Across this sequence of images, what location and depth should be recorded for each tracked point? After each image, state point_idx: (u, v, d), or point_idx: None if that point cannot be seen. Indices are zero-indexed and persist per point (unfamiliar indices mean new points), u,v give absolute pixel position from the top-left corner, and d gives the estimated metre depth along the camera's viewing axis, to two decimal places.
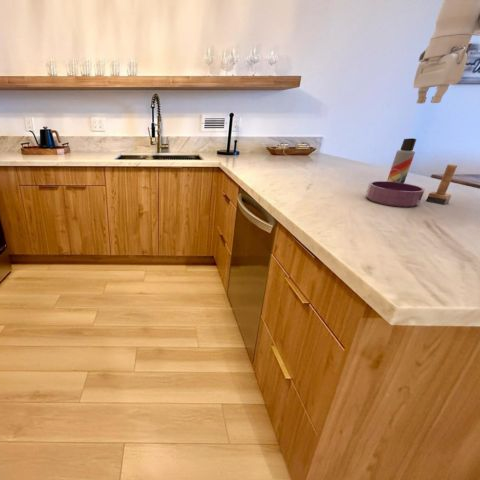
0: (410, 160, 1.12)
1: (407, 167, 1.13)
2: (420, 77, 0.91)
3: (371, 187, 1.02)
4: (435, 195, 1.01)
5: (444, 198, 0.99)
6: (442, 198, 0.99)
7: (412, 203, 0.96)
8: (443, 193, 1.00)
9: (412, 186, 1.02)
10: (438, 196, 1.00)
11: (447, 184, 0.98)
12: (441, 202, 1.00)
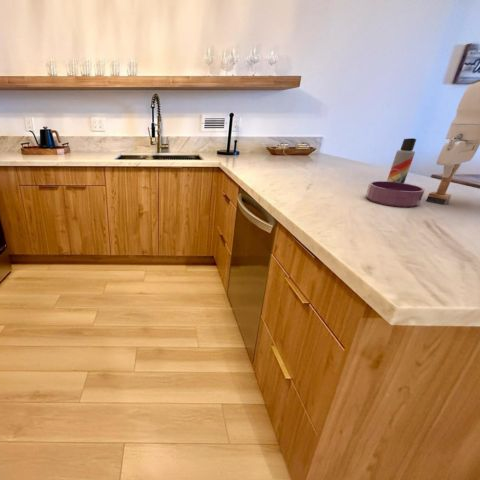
0: (410, 160, 1.12)
1: (407, 167, 1.13)
2: None
3: (371, 187, 1.02)
4: (435, 195, 1.01)
5: (444, 198, 0.99)
6: (442, 198, 0.99)
7: (412, 203, 0.96)
8: (443, 193, 1.00)
9: (412, 186, 1.02)
10: (438, 196, 1.00)
11: (447, 184, 0.98)
12: (441, 202, 1.00)
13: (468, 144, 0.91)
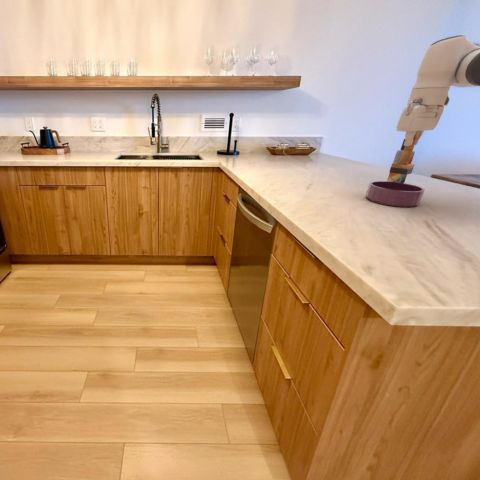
0: (410, 160, 1.12)
1: None
2: None
3: (371, 187, 1.02)
4: (398, 165, 0.98)
5: (406, 168, 0.96)
6: (404, 168, 0.96)
7: (412, 203, 0.96)
8: (405, 163, 0.97)
9: (412, 186, 1.02)
10: (400, 166, 0.97)
11: (409, 153, 0.95)
12: (403, 172, 0.97)
13: (428, 109, 0.88)
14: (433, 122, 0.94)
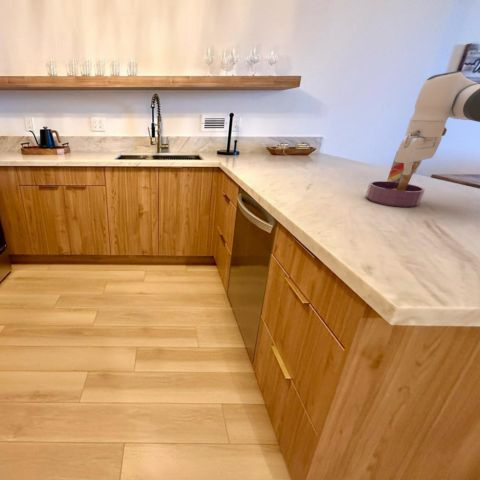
0: None
1: None
2: None
3: (371, 187, 1.02)
4: None
5: None
6: None
7: (412, 203, 0.96)
8: (402, 190, 0.99)
9: (412, 186, 1.02)
10: None
11: (407, 181, 0.97)
12: None
13: (426, 141, 0.90)
14: (431, 151, 0.96)
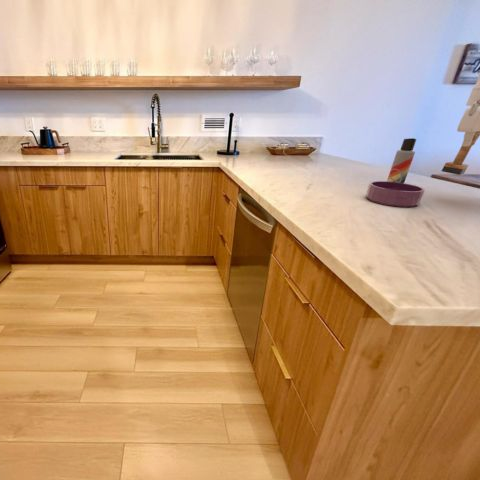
0: (410, 160, 1.12)
1: (407, 167, 1.13)
2: None
3: (371, 187, 1.02)
4: (452, 165, 0.98)
5: (461, 168, 0.96)
6: (459, 168, 0.96)
7: (412, 203, 0.96)
8: (460, 163, 0.97)
9: (412, 186, 1.02)
10: (455, 166, 0.97)
11: (465, 153, 0.95)
12: (457, 172, 0.97)
13: None
14: None
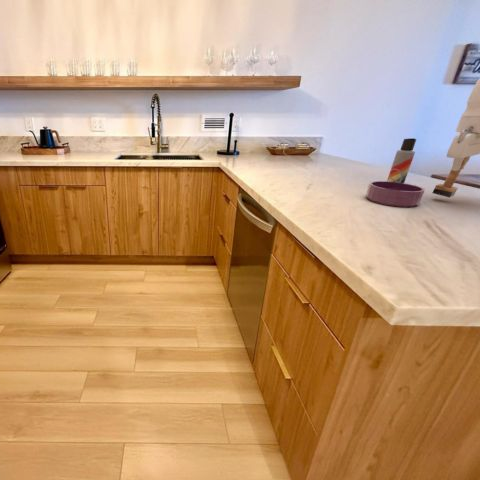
0: (410, 160, 1.12)
1: (407, 167, 1.13)
2: None
3: (371, 187, 1.02)
4: (442, 187, 1.01)
5: (450, 191, 0.99)
6: (448, 191, 1.00)
7: (412, 203, 0.96)
8: (450, 186, 1.00)
9: (412, 186, 1.02)
10: (445, 189, 1.00)
11: (455, 177, 0.99)
12: (447, 195, 1.00)
13: (478, 137, 0.91)
14: None
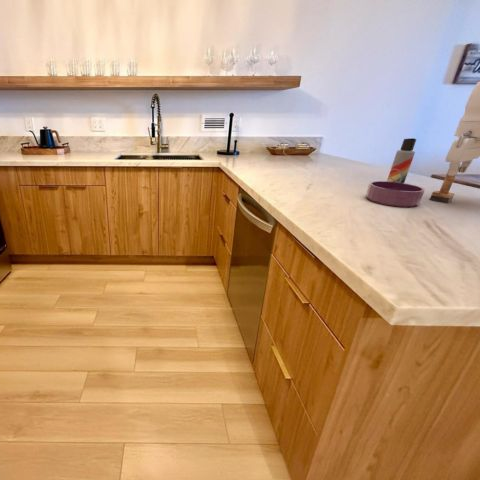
0: (410, 160, 1.12)
1: (407, 167, 1.13)
2: None
3: (371, 187, 1.02)
4: (438, 194, 1.02)
5: (447, 197, 1.00)
6: (445, 197, 1.01)
7: (412, 203, 0.96)
8: (446, 192, 1.01)
9: (412, 186, 1.02)
10: (441, 195, 1.02)
11: (450, 183, 1.00)
12: (444, 201, 1.01)
13: (477, 141, 0.91)
14: (479, 151, 0.97)
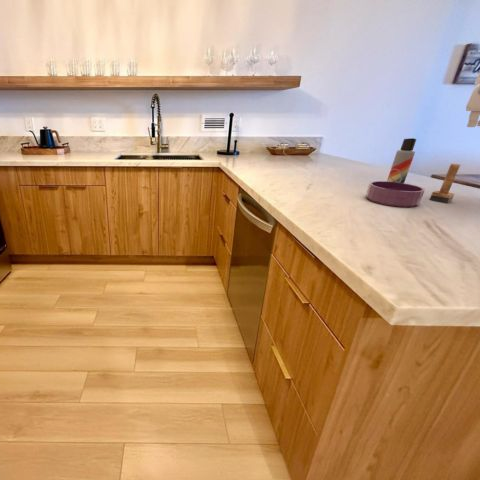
0: (410, 160, 1.12)
1: (407, 167, 1.13)
2: None
3: (371, 187, 1.02)
4: (438, 194, 1.02)
5: (447, 197, 1.00)
6: (445, 197, 1.01)
7: (412, 203, 0.96)
8: (446, 192, 1.01)
9: (412, 186, 1.02)
10: (441, 195, 1.02)
11: (450, 183, 1.00)
12: (444, 201, 1.01)
13: None
14: None
